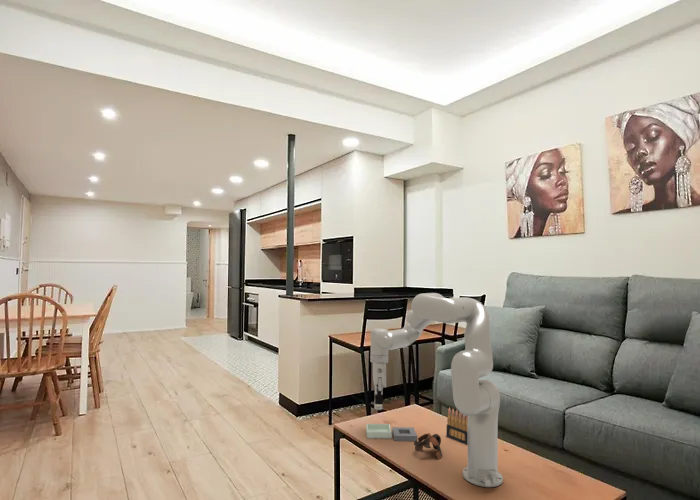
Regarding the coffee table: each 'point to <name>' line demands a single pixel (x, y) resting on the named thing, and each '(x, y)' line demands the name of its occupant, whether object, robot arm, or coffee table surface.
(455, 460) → the coffee table surface
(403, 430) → the socket block
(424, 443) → the pottery mug
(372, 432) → the parts tray
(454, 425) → the ammunition clip
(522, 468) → the coffee table surface
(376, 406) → the cylinder
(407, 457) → the coffee table surface
